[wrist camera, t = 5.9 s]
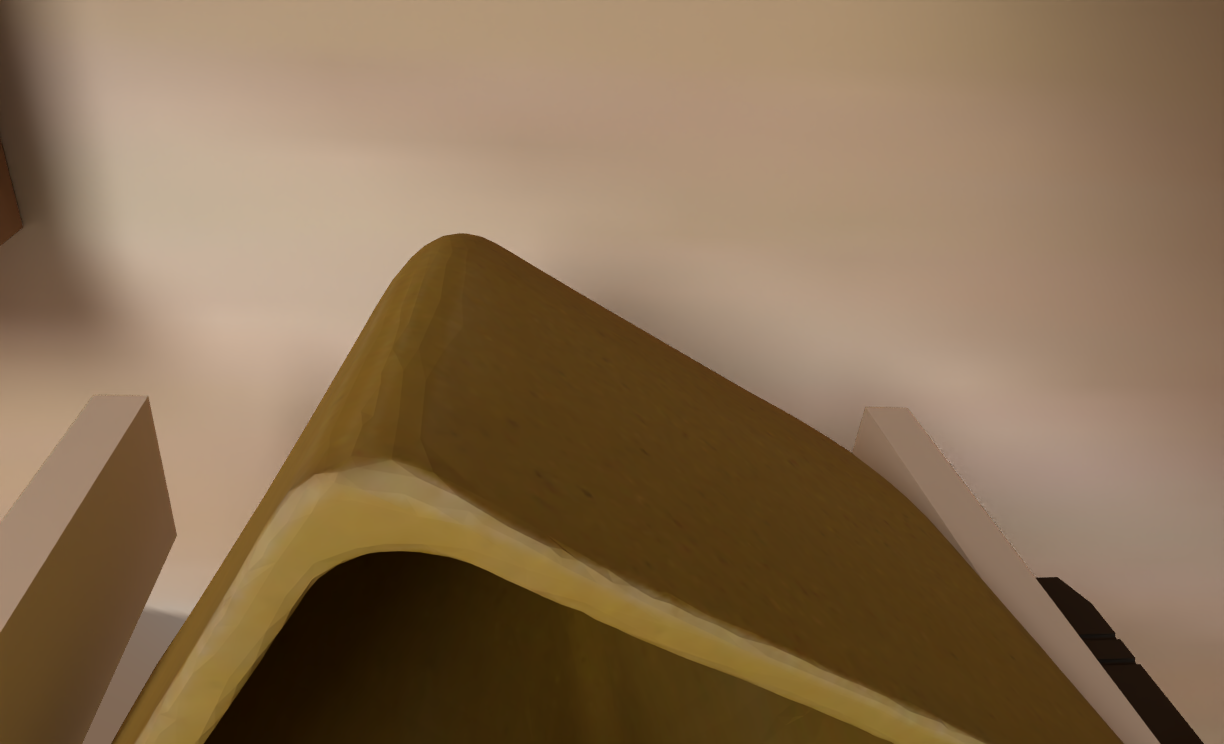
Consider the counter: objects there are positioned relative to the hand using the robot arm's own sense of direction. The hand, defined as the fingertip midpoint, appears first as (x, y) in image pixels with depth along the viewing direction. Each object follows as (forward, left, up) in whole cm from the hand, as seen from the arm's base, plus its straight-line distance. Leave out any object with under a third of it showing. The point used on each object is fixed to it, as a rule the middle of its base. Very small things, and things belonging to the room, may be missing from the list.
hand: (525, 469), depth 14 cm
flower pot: (0, 0, -1) cm, 1 cm away
